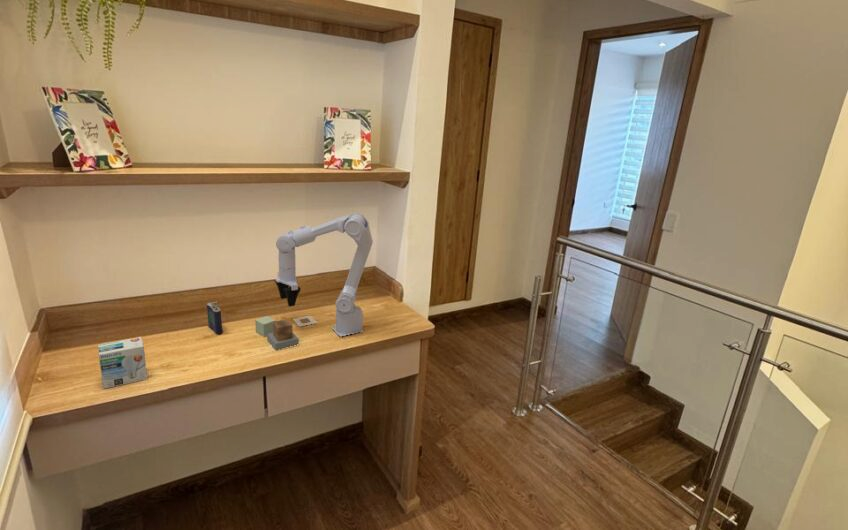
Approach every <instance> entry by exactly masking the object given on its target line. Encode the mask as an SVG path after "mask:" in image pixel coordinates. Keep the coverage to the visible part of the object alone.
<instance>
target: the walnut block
mask: <svg viewBox="0 0 848 530" xmlns="http://www.w3.org/2000/svg"><path fill="white" fill-rule="evenodd" d="M293 333H294V332H293V324H292V323H291V322H290V320H289V319H282V320H276V321H275V322H273V335H274V337H275V338H276V339H277V341H282V340H287V339H291V338H293Z"/></svg>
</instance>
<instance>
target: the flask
mask: <svg viewBox="0 0 848 530" xmlns="http://www.w3.org/2000/svg"><path fill="white" fill-rule="evenodd" d="M206 312H207V313H206V315H207V326H208V328H210V330H211V331H213V333H214V334H215V335H216V336H220V335H223V333H224V331H223V324H222V323H223V322H222V310H221V308H220V307H219V306H218V301H214V302H213V301H212V302H208V303H206Z"/></svg>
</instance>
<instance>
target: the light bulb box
mask: <svg viewBox="0 0 848 530" xmlns="http://www.w3.org/2000/svg"><path fill="white" fill-rule="evenodd" d="M97 346H98V361H99V368H100V374H101V380H102V385H103V387H102V388H103V389H104V390H105V389H109V388H113V387H119V386H123V385H124V386H125V385H127V384H131V383H136V382H137V383H138V382H141V381H146V380H148V375H147V364H146V354H145V353H146V352H145V346H144V342H143V338H142V337H141V336H138V337H133V338H127V339H122V340H117V341H112V342H105V343H101V344H98V345H97Z"/></svg>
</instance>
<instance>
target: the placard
mask: <svg viewBox="0 0 848 530" xmlns="http://www.w3.org/2000/svg"><path fill="white" fill-rule="evenodd" d="M292 321H293V322H294V323H295V324H296V325H297V326H298V327H299V328H302V326H303V327H307V326H311V324H312V325H316V323H317V324H318V321H316V320H315V318H314V317H312V316H311V315H307V316H301V317H297V318H296V317H295V318H292ZM306 325H307V326H306Z"/></svg>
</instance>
